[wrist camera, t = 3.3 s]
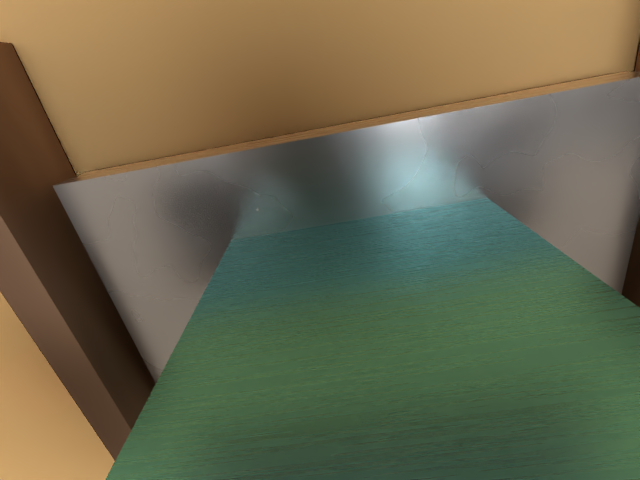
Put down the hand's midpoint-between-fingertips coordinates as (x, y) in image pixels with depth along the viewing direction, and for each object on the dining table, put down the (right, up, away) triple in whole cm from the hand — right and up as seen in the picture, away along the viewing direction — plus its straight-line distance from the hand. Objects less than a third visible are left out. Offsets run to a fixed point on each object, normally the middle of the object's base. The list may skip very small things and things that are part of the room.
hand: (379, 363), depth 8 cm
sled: (0, +1, +3) cm, 3 cm away
